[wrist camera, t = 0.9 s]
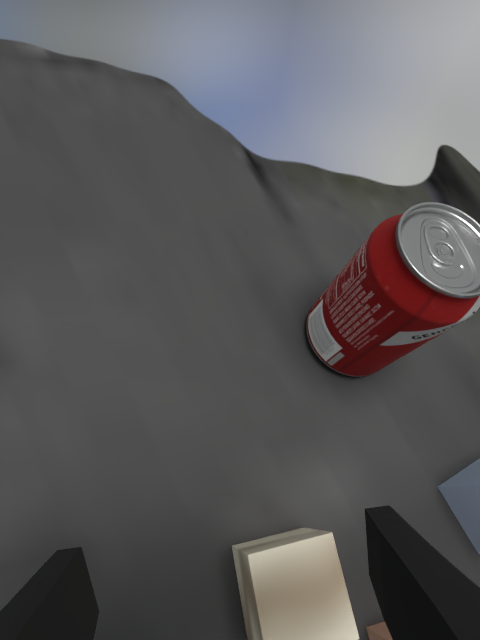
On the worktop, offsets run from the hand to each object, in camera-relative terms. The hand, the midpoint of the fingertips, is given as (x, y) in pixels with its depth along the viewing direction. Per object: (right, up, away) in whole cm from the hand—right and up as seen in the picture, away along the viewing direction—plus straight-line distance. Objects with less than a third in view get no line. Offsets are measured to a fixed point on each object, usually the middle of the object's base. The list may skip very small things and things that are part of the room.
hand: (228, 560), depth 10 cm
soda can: (+8, +5, +20) cm, 23 cm away
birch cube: (+2, -9, +13) cm, 16 cm away
